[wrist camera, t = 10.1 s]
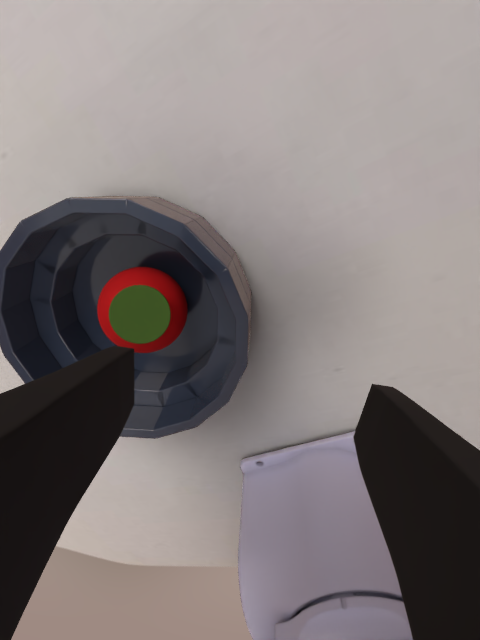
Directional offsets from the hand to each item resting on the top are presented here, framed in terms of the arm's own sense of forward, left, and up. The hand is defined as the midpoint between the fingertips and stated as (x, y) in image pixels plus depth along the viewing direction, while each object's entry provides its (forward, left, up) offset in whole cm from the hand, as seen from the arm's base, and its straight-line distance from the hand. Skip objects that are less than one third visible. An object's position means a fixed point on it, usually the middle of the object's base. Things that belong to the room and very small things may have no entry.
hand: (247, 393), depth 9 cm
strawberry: (-6, +2, -9) cm, 11 cm away
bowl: (-6, +2, -9) cm, 11 cm away
